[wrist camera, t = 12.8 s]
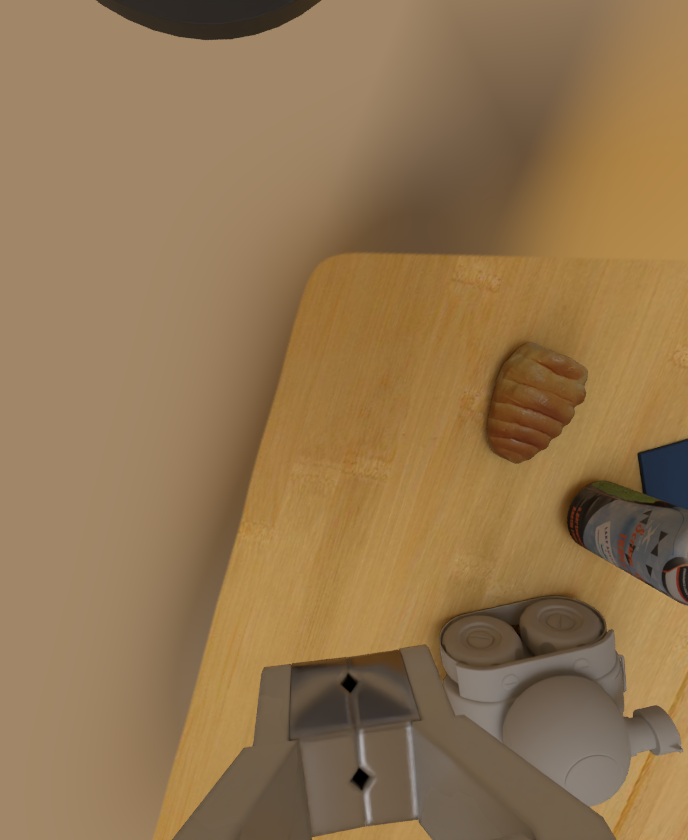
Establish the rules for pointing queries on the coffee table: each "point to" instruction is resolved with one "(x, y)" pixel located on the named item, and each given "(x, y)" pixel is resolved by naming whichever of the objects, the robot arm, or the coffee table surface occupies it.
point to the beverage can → (634, 534)
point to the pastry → (533, 401)
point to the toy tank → (552, 692)
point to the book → (666, 473)
